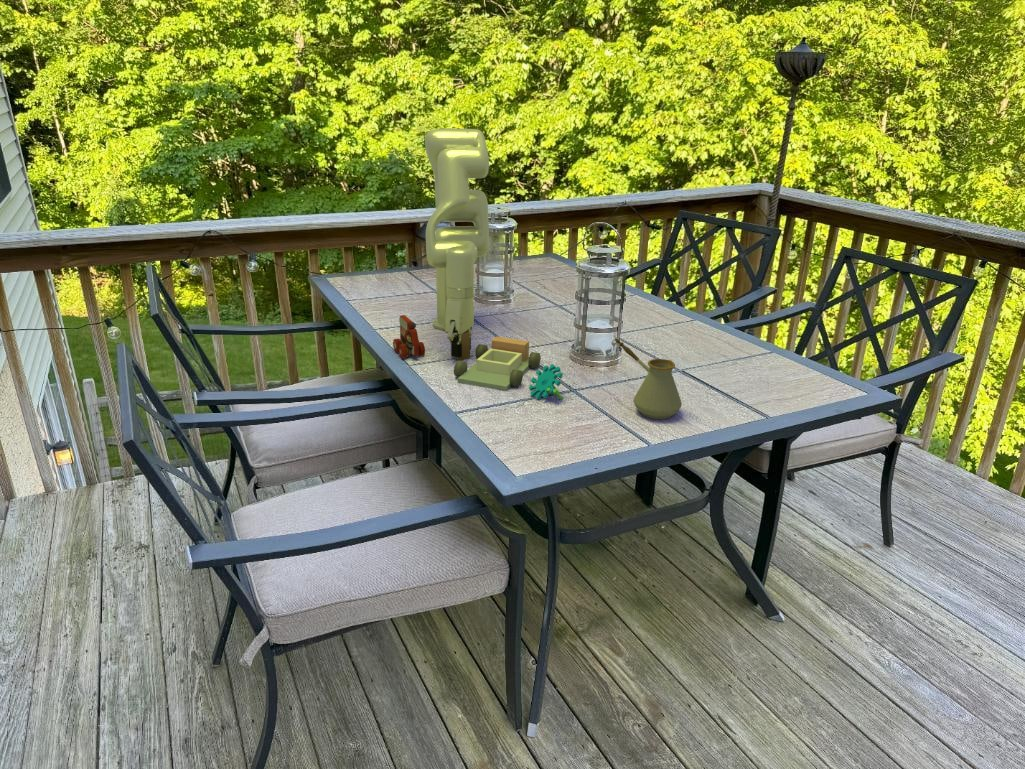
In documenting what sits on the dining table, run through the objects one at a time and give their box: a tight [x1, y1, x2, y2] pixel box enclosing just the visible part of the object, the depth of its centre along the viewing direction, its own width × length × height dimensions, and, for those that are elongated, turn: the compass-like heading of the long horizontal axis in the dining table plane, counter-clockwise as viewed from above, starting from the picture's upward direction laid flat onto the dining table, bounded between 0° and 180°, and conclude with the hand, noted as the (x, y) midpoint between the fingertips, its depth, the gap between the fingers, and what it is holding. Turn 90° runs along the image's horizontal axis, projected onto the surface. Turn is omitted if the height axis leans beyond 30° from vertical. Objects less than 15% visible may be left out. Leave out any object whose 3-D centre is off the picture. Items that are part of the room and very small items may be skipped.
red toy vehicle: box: [392, 314, 426, 359], centre depth 211 cm, size 7×12×10 cm, turn 26°
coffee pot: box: [611, 337, 683, 420], centre depth 179 cm, size 21×12×15 cm, turn 39°
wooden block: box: [453, 331, 471, 361], centre depth 209 cm, size 4×4×8 cm
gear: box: [528, 363, 564, 401], centre depth 186 cm, size 11×6×10 cm
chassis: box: [453, 335, 542, 392], centre depth 200 cm, size 22×18×6 cm
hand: (461, 352), depth 210 cm, fingers closed on wooden block, 5 cm apart
